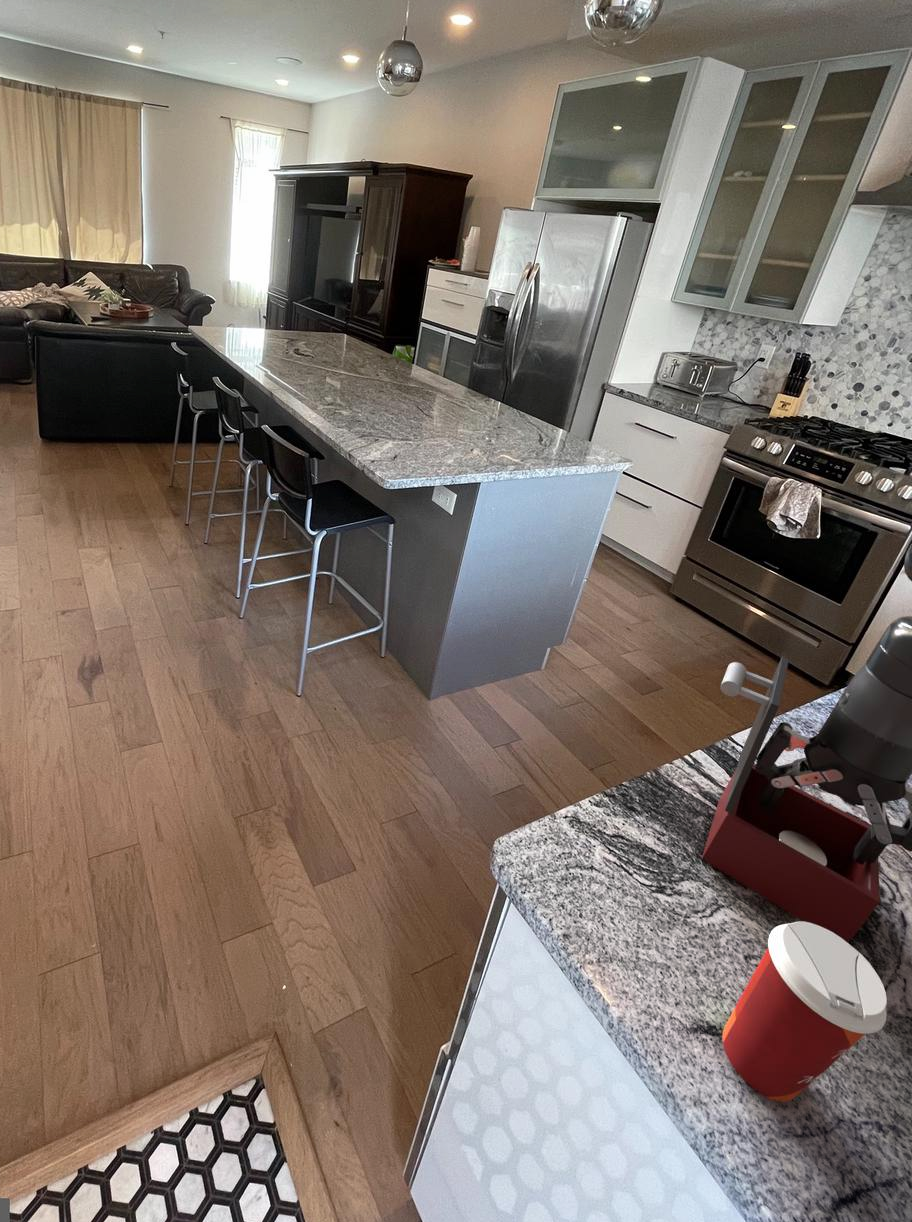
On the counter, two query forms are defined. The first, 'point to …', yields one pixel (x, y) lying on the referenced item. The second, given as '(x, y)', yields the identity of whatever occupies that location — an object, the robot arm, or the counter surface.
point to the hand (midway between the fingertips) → (810, 832)
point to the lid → (762, 722)
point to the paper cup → (802, 1010)
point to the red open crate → (795, 856)
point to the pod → (803, 846)
